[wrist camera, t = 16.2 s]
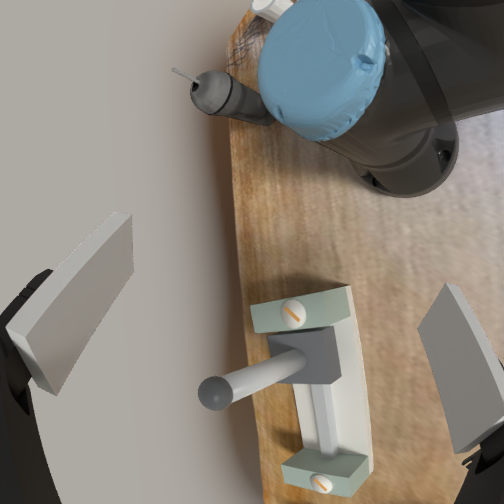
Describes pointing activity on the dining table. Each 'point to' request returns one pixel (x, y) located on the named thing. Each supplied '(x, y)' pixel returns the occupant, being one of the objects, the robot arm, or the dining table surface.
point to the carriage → (279, 367)
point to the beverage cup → (227, 98)
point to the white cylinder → (270, 8)
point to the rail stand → (326, 395)
